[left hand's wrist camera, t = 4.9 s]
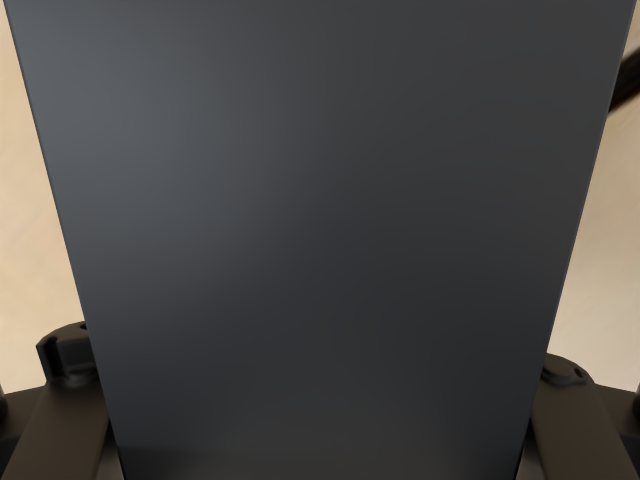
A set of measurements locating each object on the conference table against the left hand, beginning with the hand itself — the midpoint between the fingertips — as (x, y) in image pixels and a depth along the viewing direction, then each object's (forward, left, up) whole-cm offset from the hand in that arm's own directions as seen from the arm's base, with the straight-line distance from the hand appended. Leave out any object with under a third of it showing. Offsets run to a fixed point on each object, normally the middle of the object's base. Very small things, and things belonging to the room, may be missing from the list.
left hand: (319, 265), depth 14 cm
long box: (+9, 0, 0) cm, 9 cm away
